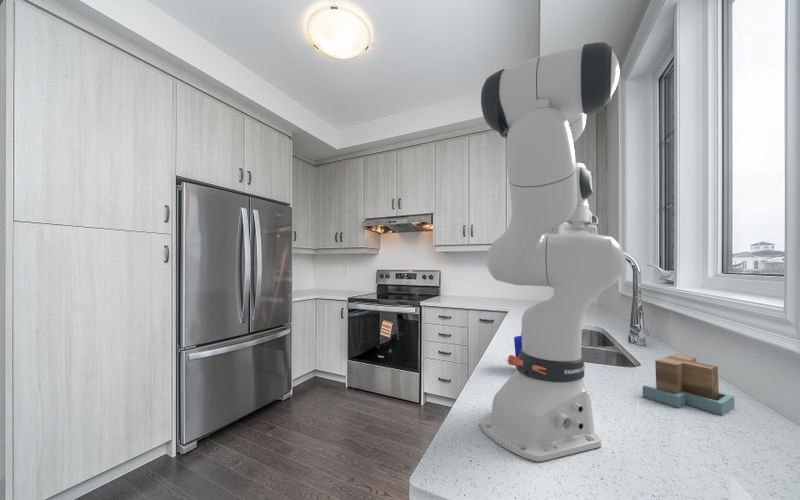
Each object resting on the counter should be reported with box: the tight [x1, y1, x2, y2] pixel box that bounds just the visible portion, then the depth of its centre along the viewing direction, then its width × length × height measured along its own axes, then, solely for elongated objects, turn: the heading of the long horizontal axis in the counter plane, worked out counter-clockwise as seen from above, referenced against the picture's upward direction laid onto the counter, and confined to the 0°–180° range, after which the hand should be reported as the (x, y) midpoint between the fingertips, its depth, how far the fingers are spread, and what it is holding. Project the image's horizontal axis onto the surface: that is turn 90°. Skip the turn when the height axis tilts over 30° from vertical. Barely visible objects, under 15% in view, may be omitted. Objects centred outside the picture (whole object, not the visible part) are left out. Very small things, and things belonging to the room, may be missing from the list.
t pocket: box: [642, 385, 735, 416], centre depth 74 cm, size 16×13×2 cm
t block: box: [654, 353, 720, 401], centre depth 74 cm, size 12×9×9 cm
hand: (573, 263), depth 92 cm, fingers closed
